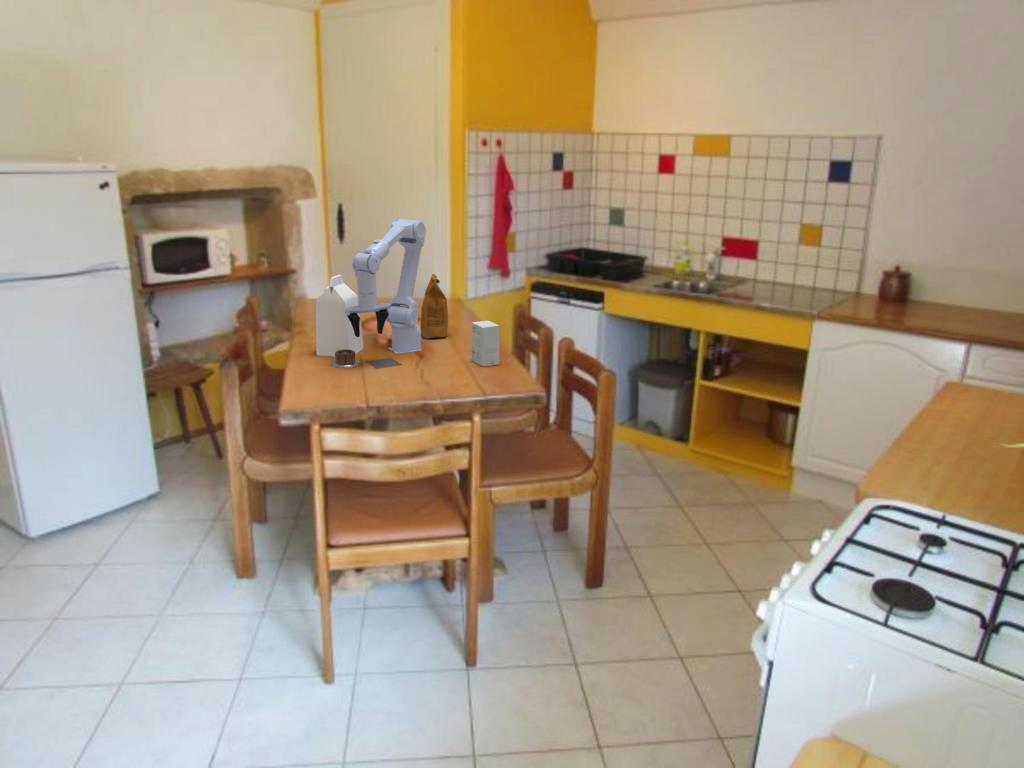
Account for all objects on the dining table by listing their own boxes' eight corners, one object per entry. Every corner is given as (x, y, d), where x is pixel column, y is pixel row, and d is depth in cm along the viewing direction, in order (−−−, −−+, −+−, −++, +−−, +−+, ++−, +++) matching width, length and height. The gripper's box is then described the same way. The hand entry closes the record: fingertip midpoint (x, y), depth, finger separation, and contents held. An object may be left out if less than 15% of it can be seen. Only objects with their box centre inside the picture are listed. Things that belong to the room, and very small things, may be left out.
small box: (499, 364, 243) (500, 325, 238) (482, 367, 240) (482, 327, 235) (488, 358, 249) (488, 320, 245) (471, 360, 246) (471, 321, 242)
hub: (353, 360, 244) (353, 347, 242) (364, 367, 236) (363, 354, 235) (327, 363, 239) (326, 351, 238) (336, 371, 232) (336, 358, 231)
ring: (357, 363, 237) (357, 352, 236) (340, 366, 233) (340, 355, 232) (350, 359, 241) (349, 348, 240) (333, 361, 238) (332, 351, 237)
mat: (391, 359, 245) (391, 357, 245) (402, 366, 238) (402, 364, 238) (365, 363, 241) (365, 361, 240) (376, 370, 234) (376, 368, 233)
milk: (349, 359, 244) (345, 280, 236) (316, 356, 246) (311, 278, 238) (363, 350, 255) (360, 274, 247) (332, 347, 257) (327, 272, 249)
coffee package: (446, 330, 283) (446, 272, 276) (449, 339, 271) (448, 279, 264) (420, 331, 281) (419, 273, 274) (421, 339, 270) (420, 279, 263)
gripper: (383, 287, 239) (384, 329, 243) (339, 292, 231) (342, 334, 235) (392, 291, 233) (393, 334, 237) (348, 296, 225) (350, 339, 230)
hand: (368, 334), depth 236 cm, fingers open, 7 cm apart
